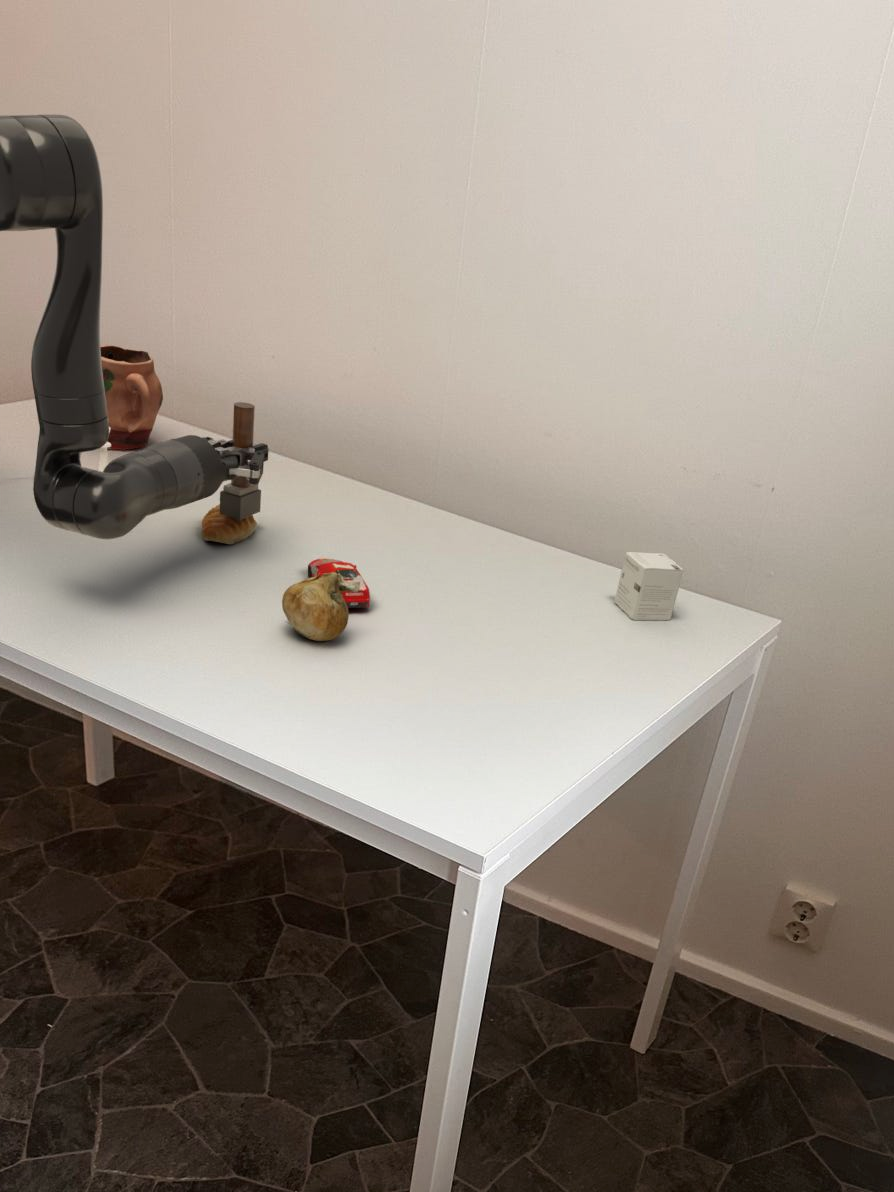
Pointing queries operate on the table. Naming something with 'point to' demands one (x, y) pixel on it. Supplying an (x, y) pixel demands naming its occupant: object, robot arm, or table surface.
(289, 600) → the onion
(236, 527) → the pastry
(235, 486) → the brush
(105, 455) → the chess piece
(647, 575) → the product carton
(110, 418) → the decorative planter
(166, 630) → the table surface
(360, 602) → the race car
